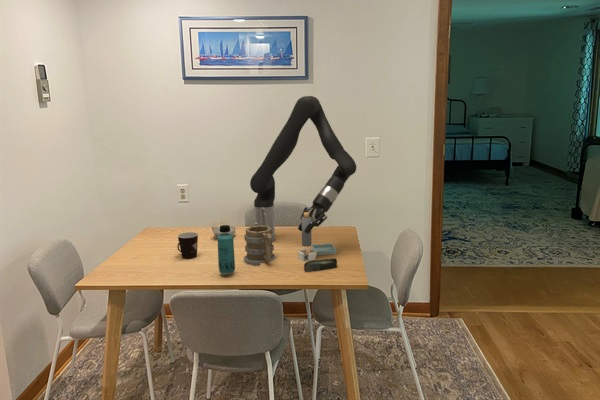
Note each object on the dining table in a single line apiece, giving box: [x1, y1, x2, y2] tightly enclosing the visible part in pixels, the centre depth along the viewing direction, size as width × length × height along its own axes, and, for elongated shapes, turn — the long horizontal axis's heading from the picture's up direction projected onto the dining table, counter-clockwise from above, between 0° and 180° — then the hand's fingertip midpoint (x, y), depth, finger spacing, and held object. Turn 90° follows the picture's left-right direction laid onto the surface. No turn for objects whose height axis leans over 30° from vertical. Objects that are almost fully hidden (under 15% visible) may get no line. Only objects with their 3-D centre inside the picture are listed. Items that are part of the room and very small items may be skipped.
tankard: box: [243, 225, 277, 266], centre depth 195 cm, size 20×13×15 cm, turn 22°
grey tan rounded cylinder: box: [301, 212, 312, 248], centre depth 195 cm, size 4×4×14 cm
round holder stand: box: [297, 247, 318, 262], centre depth 198 cm, size 8×8×4 cm
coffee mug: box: [176, 231, 199, 260], centre depth 204 cm, size 12×9×10 cm
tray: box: [310, 243, 338, 256], centre depth 207 cm, size 10×10×2 cm
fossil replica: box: [211, 220, 236, 239], centre depth 232 cm, size 12×8×10 cm
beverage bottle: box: [216, 224, 236, 275], centre depth 183 cm, size 6×7×20 cm
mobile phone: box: [303, 257, 338, 273], centre depth 185 cm, size 5×3×15 cm
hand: (302, 231), depth 194 cm, fingers closed on grey tan rounded cylinder, 4 cm apart
